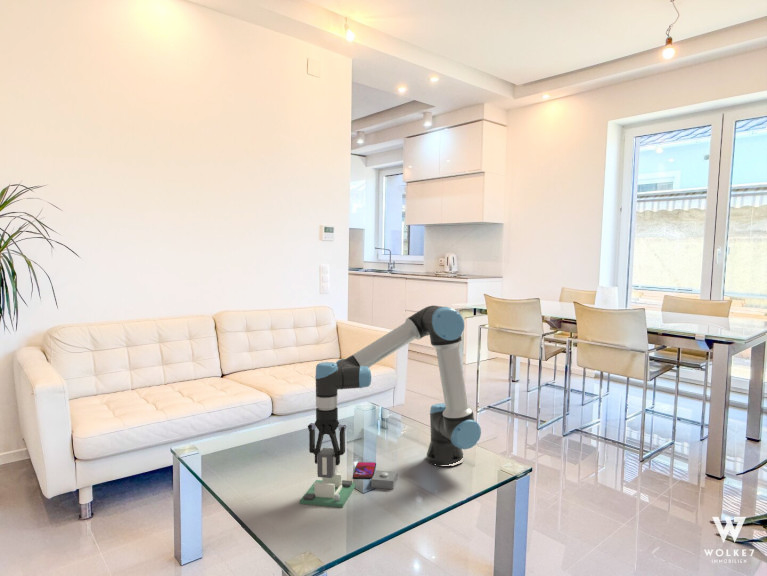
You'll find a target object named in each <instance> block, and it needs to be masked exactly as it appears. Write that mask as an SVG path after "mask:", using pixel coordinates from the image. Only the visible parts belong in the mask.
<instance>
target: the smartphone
mask: <svg viewBox="0 0 767 576" xmlns="http://www.w3.org/2000/svg"><path fill="white" fill-rule="evenodd" d="M376 466H377V463H376V462H375V461H374V462H371V461H370V462H369V461H368V462H367V461H366V462H365V461H364V462H363V461H361V462H359V461H358V462H357V464H356V466H355V469H354V473H353V475H352V478H353V479H354V480H360V479H361V480H371V479H372V477H373V475H374V474H375V472H376Z"/></svg>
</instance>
